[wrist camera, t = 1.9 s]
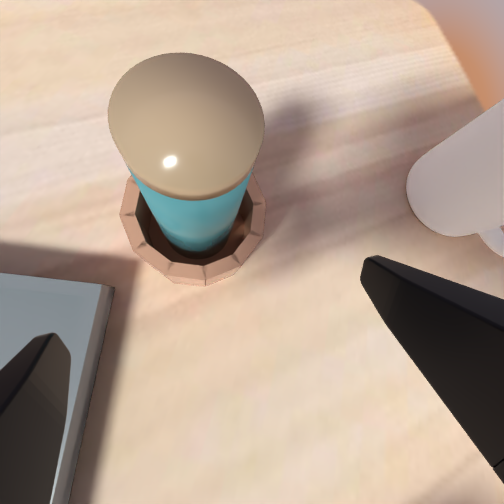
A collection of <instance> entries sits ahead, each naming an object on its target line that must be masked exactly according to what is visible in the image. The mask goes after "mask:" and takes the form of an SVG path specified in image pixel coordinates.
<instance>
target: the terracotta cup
mask: <svg viewBox="0 0 504 504" xmlns="http://www.w3.org/2000/svg"><path fill="white" fill-rule="evenodd" d="M265 211H266V201H265V199H264V197H263V195H262V192H261V190H260V188H259V186H258V184H257V181H256V179H255V177H254V175H253V173H251V176H250V179H249V182H248V184H247V187H246V190H245V193H244V196H243V199H242V202H241V205H240V207H239V210H238V213H237V216H236V219H235V222H234V225H233V227H232V230H231V233H230V236H229V239H228V241H227V243H226V245H225V246H224V248H223V249H222V250H221V251H220V252H218V253H217V254H215V255H214V256H212V257H209V258H206V259H190V258H186V257H184V256H182V255H180V254H178V253H177V252H176V251H174V250H173V249H172V247H171V246H170V245H169V243H168V241H167V240H166V238H165V236H164V234H163V232H162V230H161V228H160V226H159V225H158V223H157V221H156V219H155V217H154V215H153V213H152V212H151V210H150V208H149V206H148V204H147V202H146V200H145V198H144V197H143V195H142V193H141V191H140V189H139V187H138V185H137V184H136V182H135V180H134V178H133V176H132V175H131V176H130V177H129V178H128V180H127V184H126V188H125V193H124V197H123V202H122V206H121V210H120V218H121V221H122V223H123V226H124V229H125V231H126V234H127V236H128V239H129V242H130V244H131V247H132V250H133V251H134V252H135V253H136V254H137V255H138V256H140V257H141V258H142V259H143V260H144V261H146V262H147V263H148V264H149V265H151V266H152V267H153V268H155V269H156V270H157V271H159V272H160V273H161V274H163V275H164V276H165V277H167V278H168V279H169V280H171V281H172V282H173V283H179V284H187V285H196V286H204V287H205V286H208V285H210V284H213V283H215V282H217V281H220V280H222V279H225V278H227V277H229V276H232V275H234V273H235V272H236V271H237V270H238V269H239V268H240V266H241V265H242V264H243V263H244V261H245V260H246V259H247V257H248V256H249V255H250V253H251V252H252V251H253V249H254V248H255V247H256V245H257V244H258V243H259V241H260V240H261V239H262V237H263V231H264V221H265Z"/></svg>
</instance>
